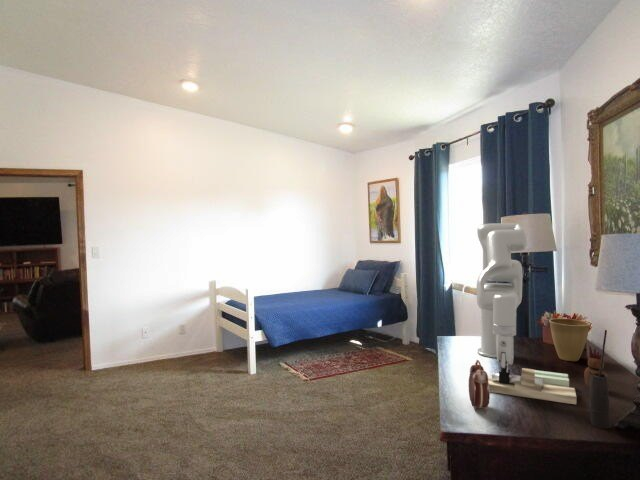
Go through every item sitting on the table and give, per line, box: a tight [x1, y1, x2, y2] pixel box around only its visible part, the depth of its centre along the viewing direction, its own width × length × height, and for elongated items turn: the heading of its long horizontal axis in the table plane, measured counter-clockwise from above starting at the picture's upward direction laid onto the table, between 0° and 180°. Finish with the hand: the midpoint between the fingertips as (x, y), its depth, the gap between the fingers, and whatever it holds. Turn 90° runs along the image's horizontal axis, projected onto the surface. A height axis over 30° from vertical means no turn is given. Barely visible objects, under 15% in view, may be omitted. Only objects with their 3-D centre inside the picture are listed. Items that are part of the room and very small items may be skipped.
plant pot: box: [549, 318, 591, 362], centre depth 186 cm, size 15×15×16 cm
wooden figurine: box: [583, 345, 609, 390], centre depth 151 cm, size 7×6×15 cm
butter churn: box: [588, 329, 612, 430], centre depth 125 cm, size 9×10×28 cm
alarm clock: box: [468, 359, 491, 413], centre depth 137 cm, size 11×5×15 cm, turn 170°
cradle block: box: [534, 369, 570, 387], centre depth 153 cm, size 7×11×4 cm, turn 63°
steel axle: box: [491, 372, 543, 388], centre depth 150 cm, size 16×3×3 cm, turn 64°
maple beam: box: [488, 367, 577, 405], centre depth 149 cm, size 8×28×7 cm, turn 64°
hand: (504, 381), depth 152 cm, fingers closed on steel axle, 3 cm apart
